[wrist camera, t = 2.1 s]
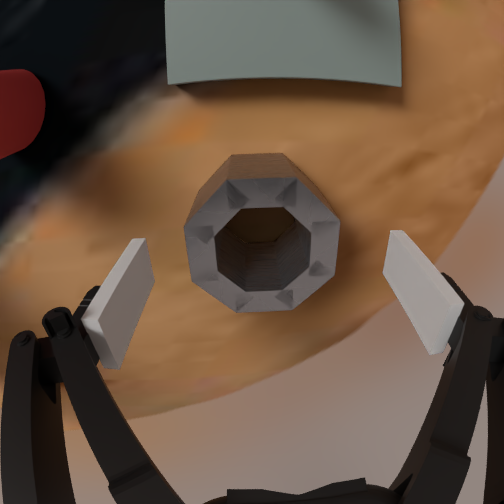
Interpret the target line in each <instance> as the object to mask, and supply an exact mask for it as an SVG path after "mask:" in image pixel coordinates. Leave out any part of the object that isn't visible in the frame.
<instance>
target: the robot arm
mask: <svg viewBox="0 0 504 504" xmlns="http://www.w3.org/2000/svg"><path fill="white" fill-rule="evenodd" d="M383 275H384V277H385V278H386V280H387V281H388V283H389V285H390V286H391V288H392V290H393V291H394V293H395V295H396V296H397V298H398V300H399V301H400V303H401V305H402V306H403V308H404V310H405V312H406V314H407V315H408V317H409V319H410V321H411V322H412V324H413V326H414V328H415V329H416V331H417V333H418V335H419V337H420V338H421V341H422V342H423V344H424V346H425V348H426V350H427V352H428V354H429V355H433V354H438V353H443V351H444V349H445V347H446V345H447V343H449V345H450V347H451V350H450V352H449V354H448V356H447V358H446V360H445V362H444V364H443V366H444V370H443V373H442V376H441V379H440V382H439V385H438V388H437V390H436V393H435V396H434V398H433V401H432V403H431V406H430V408H429V411H428V413H427V416H426V418H425V421H424V423H423V425H422V427H421V430H420V432H419V434H418V436H417V439H416V441H415V443H414V445H413V447H412V449H411V452H410V453H409V456H408V458H407V459H406V461H405V463H404V465H403V467H402V469H401V471H400V473H399V474H398V476H397V477H396V479H395V480H394V482H393V483H392V484H391V486H390V487H389V489H387V488H385V487H381V486H377V485H369V484H366V480H365V478H360V479H355V480H349V481H343V482H336V483H332V484H329V485H326V486H324V487H321V488H318V489H315V490H312V491H309V492H307V493H303V494H300V495H294V494H287V493H281V492H275V491H269V490H263V489H227V496H223V497H219V498H216V499H213V500H210V501H208V502H205V503H204V504H455V503H456V500H457V498H458V496H459V493H460V491H461V488H462V486H463V483H464V480H465V477H466V475H467V472H468V469H469V466H470V462H471V458H470V457H468V456H467V453H468V449H469V446H470V443H471V439H472V436H473V432H474V429H475V425H476V421H477V418H478V413H479V410H480V405H481V400H482V396H483V391H484V387H485V381H486V387H487V402H488V403H487V405H488V452H487V468H486V480H485V490H484V501H483V504H504V319H503V318H494V317H493V315H492V314H491V313H490V311H488V310H487V309H486V308H483V307H481V306H474V305H473V304H472V303H471V301H470V300H469V299H468V298H467V296H466V295H465V294H464V293H463V291H461V289H460V288H459V286H457V284H456V283H455V282H454V280H453V279H452V278H451V277H449V276H448V275H446V274H445V273H440V272H439V271H438V270H437V269H436V267H435V266H434V265H433V264H432V263H431V262H430V260H429V259H428V258H427V257H426V256H425V255H424V253H423V252H422V251H421V250H420V249H419V248H418V247H417V246H416V244H415V243H414V242H413V241H412V240H411V239H410V238H409V237H408V236H407V235H406V233H405V232H404V231H403V230H390V236H389V242H388V248H387V253H386V258H385V264H384V269H383ZM154 282H155V279H154V275H153V271H152V266H151V262H150V257H149V252H148V247H147V242H146V238H136V239H132V240H131V242H130V243H129V245H128V246H127V247H126V249H125V250H124V252H123V253H122V255H121V256H120V258H119V259H118V261H117V262H116V264H115V265H114V267H113V268H112V270H111V271H110V273H109V274H108V276H107V278H106V279H105V281H104V282H103V284H102V285H101V286H95V287H93V288H92V289H91V290H90V291H88V292H87V294H86V295H85V297H84V298H83V300H82V302H81V303H80V306H78V308H77V309H76V311H75V313H74V314H73V316H72V314H71V312H70V310H69V309H68V308H66V307H57V308H54V309H52V310H50V311H49V312H47V313H46V314H45V315H44V317H43V319H42V325H43V327H44V329H45V331H46V332H47V334H48V336H49V337H45V338H39V339H37V337H36V335H35V334H34V333H33V332H32V331H29V330H27V331H23V332H20V333H18V334H17V335H16V336H15V337H14V338H13V339H12V341H11V344H10V350H9V356H8V362H7V369H6V376H5V384H4V393H3V403H2V417H1V479H2V480H1V481H2V494H3V503H4V504H76V502H75V498H74V493H73V488H72V483H71V478H70V473H69V467H68V461H67V454H66V447H65V439H64V430H63V420H62V408H61V392H60V383H61V382H64V385H65V388H66V390H67V393H68V396H69V398H70V401H71V403H72V406H73V408H74V411H75V413H76V416H77V418H78V421H79V423H80V425H81V427H82V430H83V432H84V434H85V436H86V438H87V441H88V443H89V445H90V447H91V449H92V451H93V453H94V455H95V457H96V459H97V461H98V463H99V465H100V467H101V469H102V470H103V472H104V474H105V476H106V478H107V480H108V482H109V486H108V488H109V491H110V493H111V494H112V496H113V498H114V500H115V501H116V503H117V504H185V503H184V502H183V501H182V500H181V498H180V497H179V496H178V495H177V494H176V492H175V491H174V490H173V488H172V487H171V486H170V485H169V483H168V482H167V481H166V479H165V478H164V477H163V475H162V474H161V473H160V471H159V470H158V468H157V467H156V466H155V464H154V463H153V461H152V460H151V459H150V457H149V455H148V454H147V453H146V451H145V450H144V448H143V447H142V445H141V443H140V442H139V440H138V439H137V437H136V436H135V434H134V433H133V431H132V429H131V428H130V426H129V425H128V423H127V421H126V419H125V418H124V416H123V414H122V413H121V411H120V409H119V408H118V406H117V404H116V402H115V400H114V399H113V397H112V395H111V393H110V391H109V389H108V388H107V386H106V384H105V382H104V380H103V378H102V376H101V374H100V372H99V370H98V368H97V366H96V365H97V363H98V361H99V359H100V361H101V363H102V365H103V367H104V368H108V369H118V370H120V367H121V364H122V362H123V359H124V356H125V354H126V351H127V349H128V346H129V343H130V341H131V338H132V336H133V333H134V331H135V328H136V326H137V323H138V321H139V318H140V316H141V313H142V311H143V308H144V306H145V304H146V301H147V299H148V296H149V294H150V292H151V289H152V287H153V285H154Z"/></svg>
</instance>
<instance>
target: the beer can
mask: <svg viewBox="0 0 504 504" xmlns="http://www.w3.org/2000/svg"><path fill="white" fill-rule="evenodd" d="M45 105H46V104H45V96H44V90H43V88H42V86H41V83H40V81H39V80H38V79H37V78H36V77H35V75H34V74H33V73H31V72H29V71H27V70H24V69H18V70H2V71H0V159H2V158H4V157H6V156H8V155H10V154H13V153H15V152H17V151H20V150H22V149H25V148H26V147H27V146H28V145H29V144H30V143H32V142H33V140H34V139H35V137H36V136H37V134H38V132H39V131H40V128H41V125H42V123H43V120H44V114H45Z"/></svg>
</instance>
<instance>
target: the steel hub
mask: <svg viewBox="0 0 504 504" xmlns="http://www.w3.org/2000/svg"><path fill="white" fill-rule="evenodd" d="M266 207H284V208H285V209H286V210H287V211H289V212H290V213H291V214H292V215H293V216H294V223H293V224H292V225H291V226H290V227H289V228H288V229H287V230H286V231H285V232H284V233H283V234H282V235H280V236H279V237H278V238H277V239H276V240H275V241H274V242H255V243H245V242H244V241H242V240H241V239H240V238H239V237H237V236H236V235H235V234H234V233H232V232H231V231H230V230H229V229H228V228H226V227H225V225H226V224H227V223H228V222H229V220H230V219H231V218H232V217H233V216H234V215H235V214H236V213H237V212H238V211H239V210H240V209H241V208H266ZM339 229H340V220H339V218H338V217H337V215H336V214H335V212H334V211H333V209H332V208H331V207H330V205H329V204H328V202H327V201H326V199H325V198H324V196H323V195H322V193H321V192H320V191H319V189H318V188H317V186H316V185H315V184H314V183H313V182H312V181H311V180H310V179H309V178H308V177H307V176H306V175H305V174H304V173H303V172H301V171H300V170H299V169H298V168H297V167H296V166H295V165H294V164H293V163H292V162H291V161H290V160H289V159H288V158H287V157H286V156H285V155H284V154H283V153H266V154H239V155H231V156H230V157H229V158H228V159H227V160H226V161H225V162H224V163H223V165H222V166H221V167H220V168H219V169H218V170H217V171H216V172H215V173H214V174H213V175H212V177H211V178H210V179H209V180H208V181H207V182H206V183H205V184H204V186H203V187H202V188H201V189H200V190H199V192H198V194H197V196H196V199H195V201H194V203H193V206H192V208H191V211H190V213H189V215H188V218H187V220H186V223H185V225H184V233H185V240H186V247H187V253H188V260H189V266H190V273H191V279H192V282H194V283H195V284H196V285H198V286H199V287H201V288H202V289H203V290H205V291H206V292H208V293H209V294H210V295H212V296H213V297H215V298H216V299H218V300H219V301H220V302H222V303H223V304H225V305H226V306H228V307H229V308H230V309H232V310H233V311H235V312H236V313H238V312H263V311H283V310H293V309H294V308H295V307H297V306H298V305H299V304H300V303H302V302H303V301H304V300H305V299H306V298H308V297H309V296H310V295H311V294H313V293H314V292H315V291H316V290H317V289H319V288H320V287H321V286H322V285H323V284H325V283H326V282H327V281H328V280H329V279H331V278H332V277H333V276H334V275H335V267H336V258H337V249H338V240H339Z"/></svg>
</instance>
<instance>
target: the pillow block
mask: <svg viewBox="0 0 504 504" xmlns="http://www.w3.org/2000/svg"><path fill="white" fill-rule="evenodd" d="M165 29H166V56H167V75H168V85H179V84H188V83H198V82H209V81H222V80H239V79H315V80H332V81H345V82H356V83H366V84H374V85H382V86H391V87H401V36H400V19H399V7H398V0H165Z"/></svg>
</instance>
